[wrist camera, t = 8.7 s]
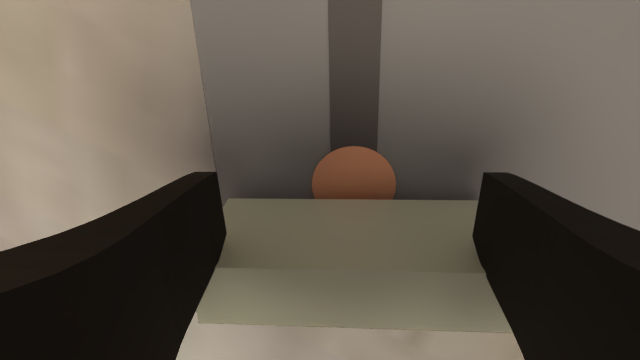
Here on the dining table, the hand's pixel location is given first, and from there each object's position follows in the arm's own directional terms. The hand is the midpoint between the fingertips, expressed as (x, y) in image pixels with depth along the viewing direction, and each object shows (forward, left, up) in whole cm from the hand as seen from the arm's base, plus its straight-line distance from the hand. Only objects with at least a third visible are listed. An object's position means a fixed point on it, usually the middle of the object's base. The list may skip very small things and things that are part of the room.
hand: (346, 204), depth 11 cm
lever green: (-2, 0, -3) cm, 4 cm away
